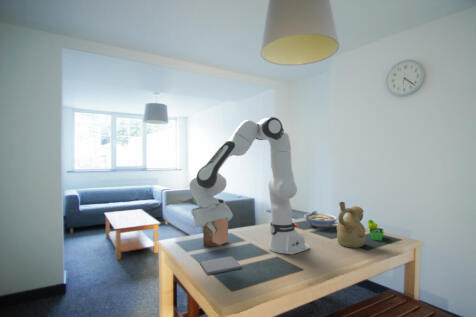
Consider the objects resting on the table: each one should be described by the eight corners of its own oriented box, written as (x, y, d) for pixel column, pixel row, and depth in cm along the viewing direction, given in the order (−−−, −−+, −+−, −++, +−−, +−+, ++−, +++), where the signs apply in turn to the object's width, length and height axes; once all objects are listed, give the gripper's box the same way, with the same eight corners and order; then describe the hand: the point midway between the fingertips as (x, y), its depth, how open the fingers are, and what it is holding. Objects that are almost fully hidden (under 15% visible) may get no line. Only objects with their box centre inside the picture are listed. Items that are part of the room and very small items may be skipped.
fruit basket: (384, 241, 147) (384, 222, 147) (367, 239, 152) (367, 221, 152) (383, 236, 157) (383, 218, 157) (367, 234, 162) (367, 217, 162)
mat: (231, 258, 122) (231, 256, 122) (241, 268, 112) (241, 265, 112) (199, 263, 116) (199, 261, 116) (207, 274, 105) (207, 272, 105)
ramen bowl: (332, 233, 163) (332, 221, 163) (299, 228, 176) (299, 216, 176) (340, 225, 184) (340, 214, 184) (309, 220, 197) (309, 210, 197)
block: (220, 239, 117) (220, 218, 117) (227, 242, 114) (228, 220, 114) (212, 241, 114) (212, 220, 114) (219, 244, 110) (219, 222, 110)
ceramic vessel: (374, 245, 141) (374, 201, 141) (352, 252, 131) (352, 204, 131) (347, 237, 155) (347, 197, 155) (326, 242, 145) (326, 200, 145)
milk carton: (221, 246, 139) (221, 212, 139) (203, 245, 141) (203, 211, 141) (226, 240, 149) (226, 208, 149) (209, 239, 152) (209, 208, 152)
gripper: (192, 204, 112) (205, 231, 104) (226, 199, 126) (240, 222, 119) (187, 213, 115) (199, 239, 108) (221, 207, 129) (233, 230, 122)
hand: (221, 230), depth 113 cm, fingers closed on block, 5 cm apart
